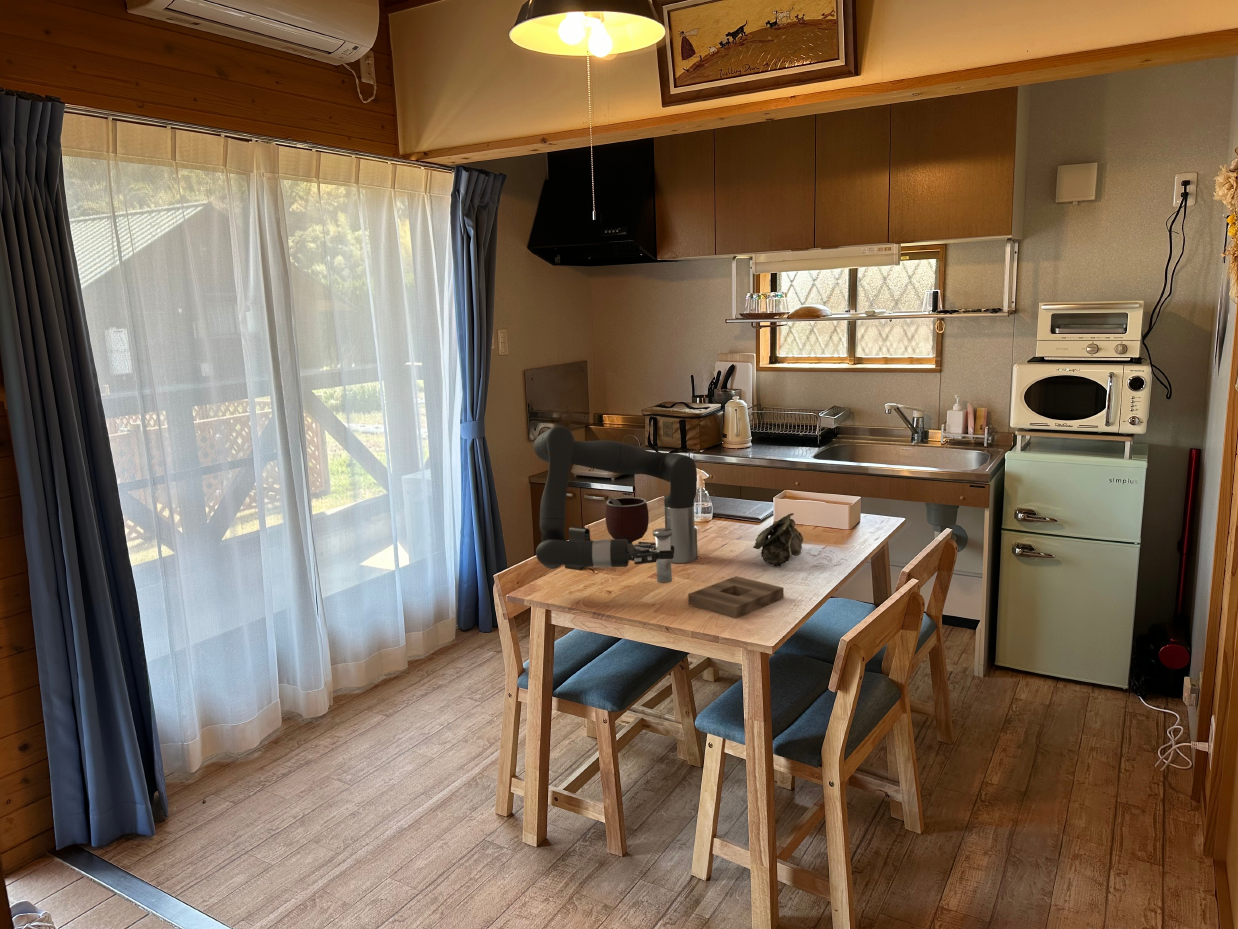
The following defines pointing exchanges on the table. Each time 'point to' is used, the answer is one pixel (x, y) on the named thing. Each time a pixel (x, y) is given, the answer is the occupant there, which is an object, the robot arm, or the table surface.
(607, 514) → the mate gourd
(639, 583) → the table surface
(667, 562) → the steel pin
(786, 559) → the camouflage backpack
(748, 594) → the socket plate
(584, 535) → the phone stand
